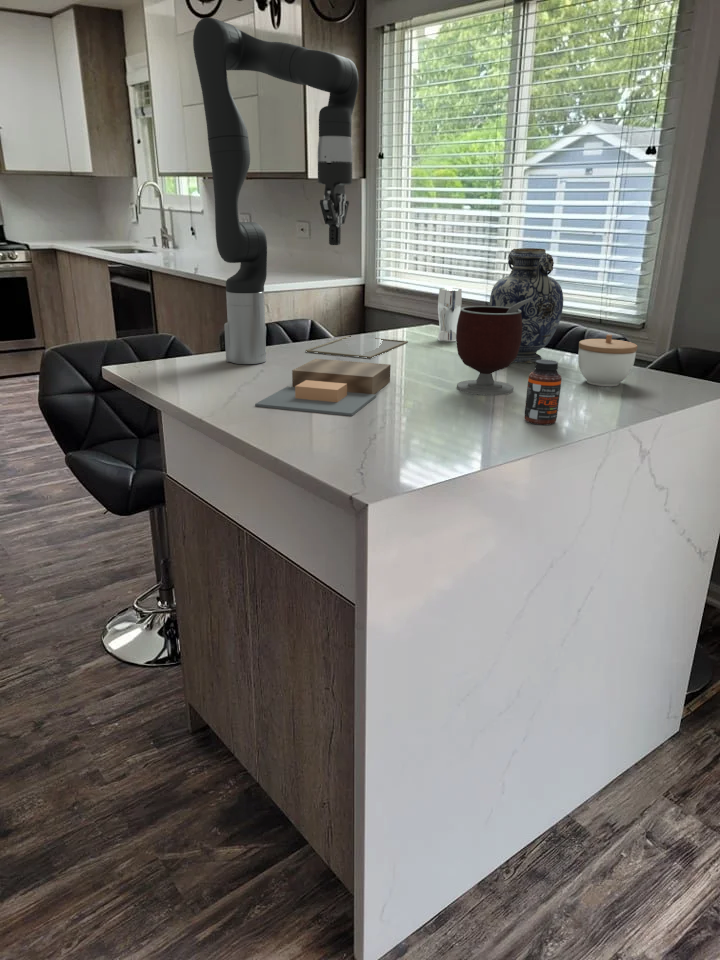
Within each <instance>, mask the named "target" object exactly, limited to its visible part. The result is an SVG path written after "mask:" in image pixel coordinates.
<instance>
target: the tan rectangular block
mask: <svg viewBox="0 0 720 960" xmlns="http://www.w3.org/2000/svg"><path fill="white" fill-rule="evenodd" d="M346 396H347V384H345V383H334V382H323V381H311V380H305V381H304V382H302V383H300V384H298V385H296V386H295V398H298V399H308V400H319V401H329V402H339V401H340V400H341V399H343V398H344V397H346Z"/></svg>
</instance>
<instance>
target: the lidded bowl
mask: <svg viewBox="0 0 720 960" xmlns="http://www.w3.org/2000/svg"><path fill="white" fill-rule="evenodd" d="M637 352H638V345H637V344H636V343H633V342H630V341H625V340H621V339H620V340H619V339H614V338H613V334H606V335H605V338H587V339H586V338H585V339H582V340H580V341H579V342H578V354H577V355H578V360H577V361H578V363H577V364H578V368H579V370H580V371H579V372H580V373H581V375H582V377H583V378H584V379H585V380H586V383H587V384H588V385H593V386H598V387H599V386H600V387H616V386H617V387H618V386H619V385H620V383H621V382H623V381H624V380H626V378H628V376H630V374H631V372H632V370H633V367H634V364H635V361H636V355H637Z"/></svg>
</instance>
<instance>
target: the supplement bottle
mask: <svg viewBox="0 0 720 960" xmlns="http://www.w3.org/2000/svg"><path fill="white" fill-rule="evenodd" d="M558 365H559V362H558V361H556V360H553V359H541V360H537V361H536V362H535V364H534V370H533V371H531V372H530V373H529V375H528V381H527V387H526V388H527V389H526V398H525V406H524V407H525V408H524V416H523V418H524V420H525V421H526V422H528V423H529V424H530V423H531V424H532V423H533V425H538V426H540V425H541V426H548V425H549V424H550V425H553V424H556V423H557V417H558V412H559V403H560V393H561V387H562V376H561V375H562V374H560V373H559V372H558V368H559V366H558Z"/></svg>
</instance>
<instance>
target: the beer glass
mask: <svg viewBox="0 0 720 960" xmlns="http://www.w3.org/2000/svg"><path fill="white" fill-rule="evenodd" d="M462 292H463V291H462V288H457V287H456V288H455V287H441V288H439V291H438V299H437V313H438V324H439V329H438V335H437V341H438V342H444V343H453V342H454V343H456V330H457V323H458V318H459V314H460V311H461V310H460V309H461V308H462V301H463V300H462V298H463V297H462V295H463V294H462Z"/></svg>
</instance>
